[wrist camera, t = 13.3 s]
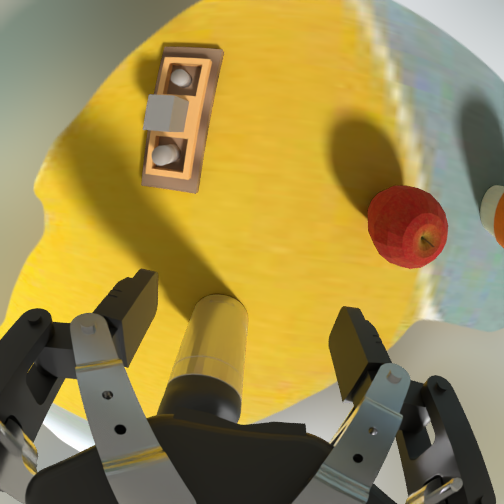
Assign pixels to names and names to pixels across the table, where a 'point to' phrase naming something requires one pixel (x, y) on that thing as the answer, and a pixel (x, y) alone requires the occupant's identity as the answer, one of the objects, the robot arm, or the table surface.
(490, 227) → the reusable coffee cup
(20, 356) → the robot arm
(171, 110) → the hole bar
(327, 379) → the table surface
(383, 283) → the table surface
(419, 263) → the apple
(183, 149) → the pin board
